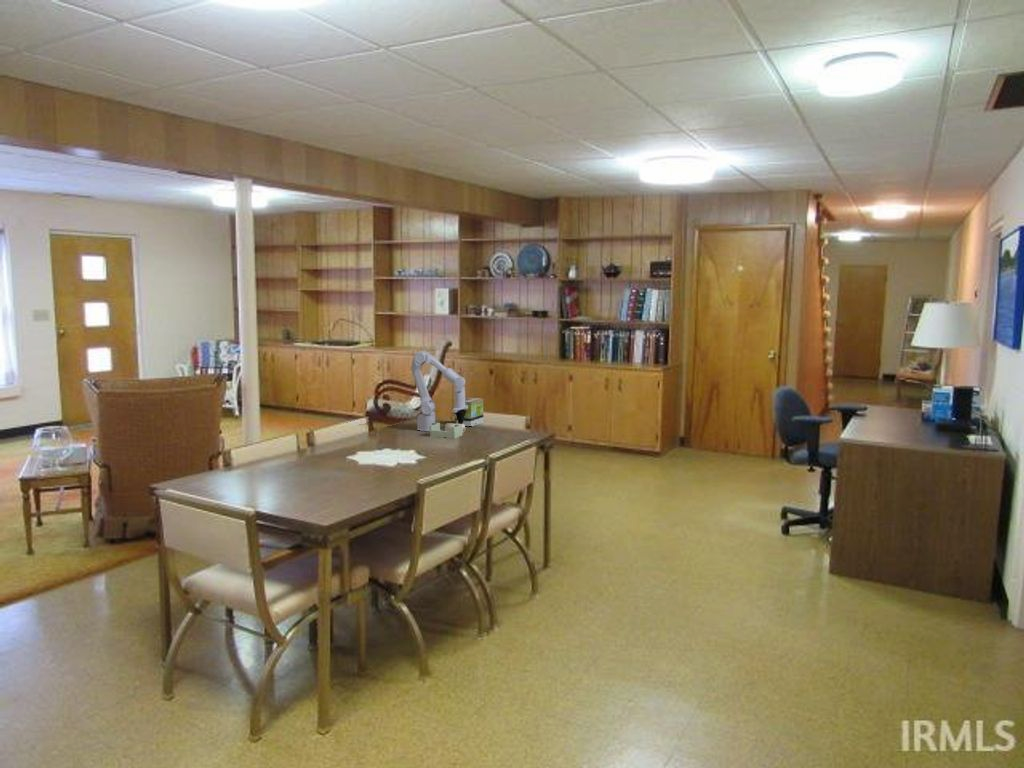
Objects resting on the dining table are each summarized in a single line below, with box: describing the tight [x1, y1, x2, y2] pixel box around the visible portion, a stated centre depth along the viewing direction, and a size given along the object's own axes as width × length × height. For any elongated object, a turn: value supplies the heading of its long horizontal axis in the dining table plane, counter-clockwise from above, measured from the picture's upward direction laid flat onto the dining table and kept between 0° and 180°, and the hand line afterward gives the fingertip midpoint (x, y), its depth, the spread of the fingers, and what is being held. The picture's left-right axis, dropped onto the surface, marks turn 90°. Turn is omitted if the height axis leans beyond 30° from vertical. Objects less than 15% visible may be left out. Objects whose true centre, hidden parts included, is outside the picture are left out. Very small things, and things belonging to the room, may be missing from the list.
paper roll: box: [444, 422, 467, 434], centre depth 394 cm, size 10×5×5 cm
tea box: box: [456, 397, 484, 427], centre depth 416 cm, size 15×10×15 cm, turn 154°
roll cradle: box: [429, 422, 463, 439], centre depth 385 cm, size 15×9×7 cm, turn 66°
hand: (460, 423), depth 400 cm, fingers closed
